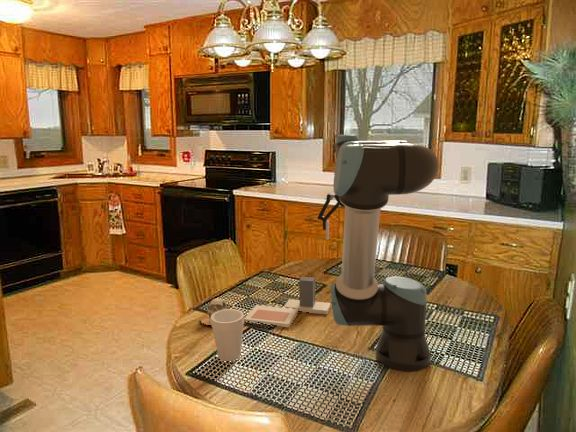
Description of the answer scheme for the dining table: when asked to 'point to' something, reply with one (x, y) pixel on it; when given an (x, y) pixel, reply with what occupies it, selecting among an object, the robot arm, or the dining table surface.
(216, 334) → the foam cup
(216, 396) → the dining table surface
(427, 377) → the dining table surface
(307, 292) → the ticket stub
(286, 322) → the white flat piece
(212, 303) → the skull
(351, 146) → the robot arm
